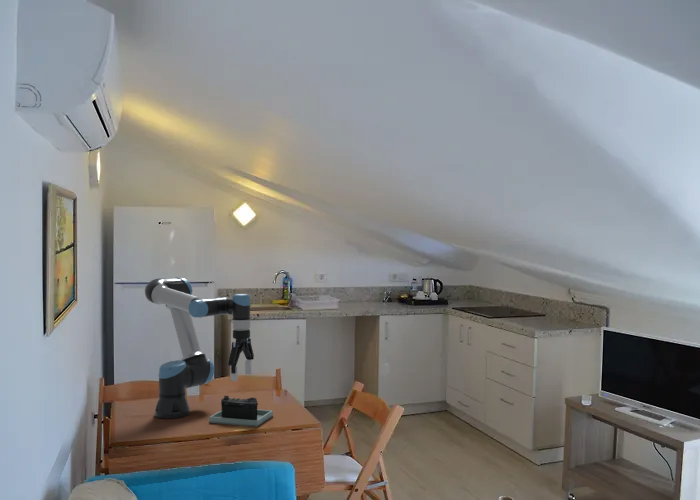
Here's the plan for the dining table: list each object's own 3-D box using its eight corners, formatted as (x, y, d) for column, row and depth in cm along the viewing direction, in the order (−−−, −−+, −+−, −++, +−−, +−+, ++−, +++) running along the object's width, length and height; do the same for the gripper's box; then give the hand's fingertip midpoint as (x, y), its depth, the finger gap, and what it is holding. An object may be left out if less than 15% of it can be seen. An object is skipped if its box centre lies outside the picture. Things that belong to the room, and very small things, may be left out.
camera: (264, 416, 261) (264, 394, 261) (256, 422, 253) (256, 399, 253) (228, 413, 266) (228, 391, 266) (218, 419, 257) (218, 396, 257)
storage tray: (209, 422, 255) (209, 416, 255) (227, 412, 270) (227, 407, 270) (257, 426, 248) (257, 420, 248) (272, 416, 264) (272, 410, 264)
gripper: (246, 325, 272) (246, 371, 273) (220, 332, 248) (219, 383, 249) (261, 325, 270) (261, 372, 270) (236, 333, 246) (236, 384, 246)
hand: (241, 377), depth 259 cm, fingers open, 13 cm apart
